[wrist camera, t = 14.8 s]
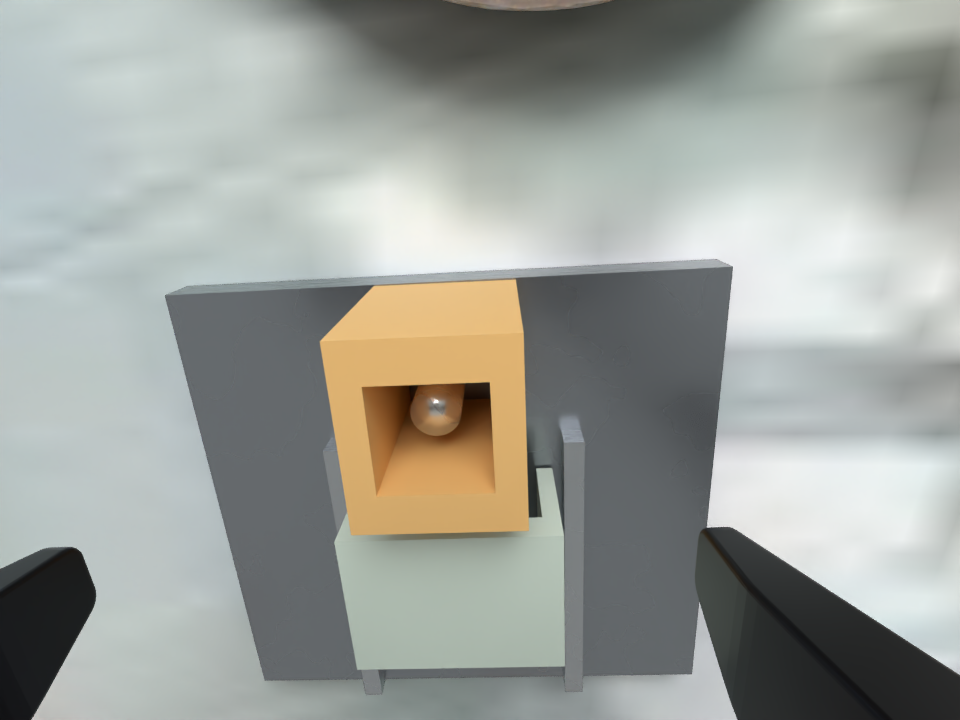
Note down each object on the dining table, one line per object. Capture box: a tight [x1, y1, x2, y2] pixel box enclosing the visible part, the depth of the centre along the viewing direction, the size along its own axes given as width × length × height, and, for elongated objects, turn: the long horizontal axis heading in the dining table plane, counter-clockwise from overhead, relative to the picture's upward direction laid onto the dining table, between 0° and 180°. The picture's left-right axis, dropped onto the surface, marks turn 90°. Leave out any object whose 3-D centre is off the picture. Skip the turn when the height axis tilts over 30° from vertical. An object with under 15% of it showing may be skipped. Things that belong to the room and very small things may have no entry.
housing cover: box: [334, 468, 565, 670], centre depth 17 cm, size 4×6×3 cm
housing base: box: [165, 259, 733, 694], centre depth 17 cm, size 15×16×5 cm
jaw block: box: [320, 280, 529, 535], centre depth 14 cm, size 5×4×5 cm
